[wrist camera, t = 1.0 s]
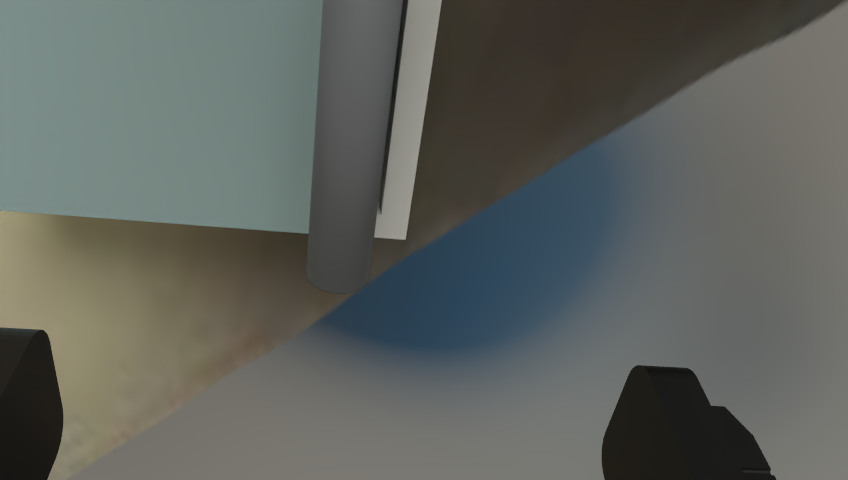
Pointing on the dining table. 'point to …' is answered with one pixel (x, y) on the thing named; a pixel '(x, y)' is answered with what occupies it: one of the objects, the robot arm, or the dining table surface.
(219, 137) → the door
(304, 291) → the dining table surface
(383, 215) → the cabinet
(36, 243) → the dining table surface
